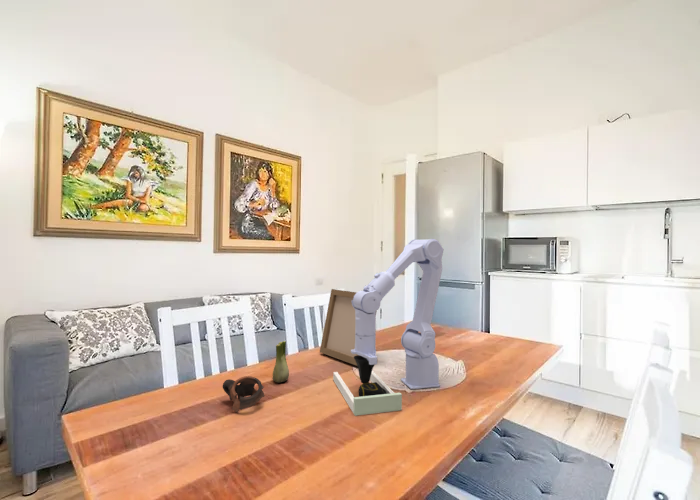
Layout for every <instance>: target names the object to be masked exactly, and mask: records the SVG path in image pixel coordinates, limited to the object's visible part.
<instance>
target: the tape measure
mask: <svg viewBox="0 0 700 500" xmlns="http://www.w3.org/2000/svg"><path fill="white" fill-rule="evenodd" d="M381 394H387V392H386V391H385V390H384V389H383V388H382V387H381V386H380V385H379V384H378V383H376V382H374V383H372V382H369V383H361V384H360V386H359V387H358V397H362V396H372V395H381Z"/></svg>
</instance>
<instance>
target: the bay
mask: <svg viewBox="0 0 700 500" xmlns="http://www.w3.org/2000/svg"><path fill="white" fill-rule="evenodd" d="M332 374H333V376H332V379H333V382H334V384H335V385H336V388H337V389H338V390H339V392H340V394H341V395H342V397H343V398H344V400H345V402H346V404H347V405H348V408H350V410H351V412H352V414H353V415H354V416H355V417H357V416H363V415H372V414H373V415H374V414H378V413H379V414H380V413H382V414H383V413H388V412H397V411H399V412H400V411H402V410H403V404H402V403H403V394H402V393H401V392H394V391H393V390H392V388H390V387H389V385H388V384H386V382H385V381H384V380H383V379H382V378H381V377H380V376H379V375H378V373H376V372H375V371H374V370H373V369H372V373H371V377H370V381H371V383H374V382H376V383H378V384H379V385H380V386H381V387H382V388H383V389H384V390H385V391H386V392H387V394H381V395H372V396H362V397H359V396H354V394H353V393H352V392H351V390H350V388H349V387H348V385H347V384H346V383H345V380H343V378H342V376H341V375H340V374H339V372H338V371H333V373H332Z"/></svg>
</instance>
